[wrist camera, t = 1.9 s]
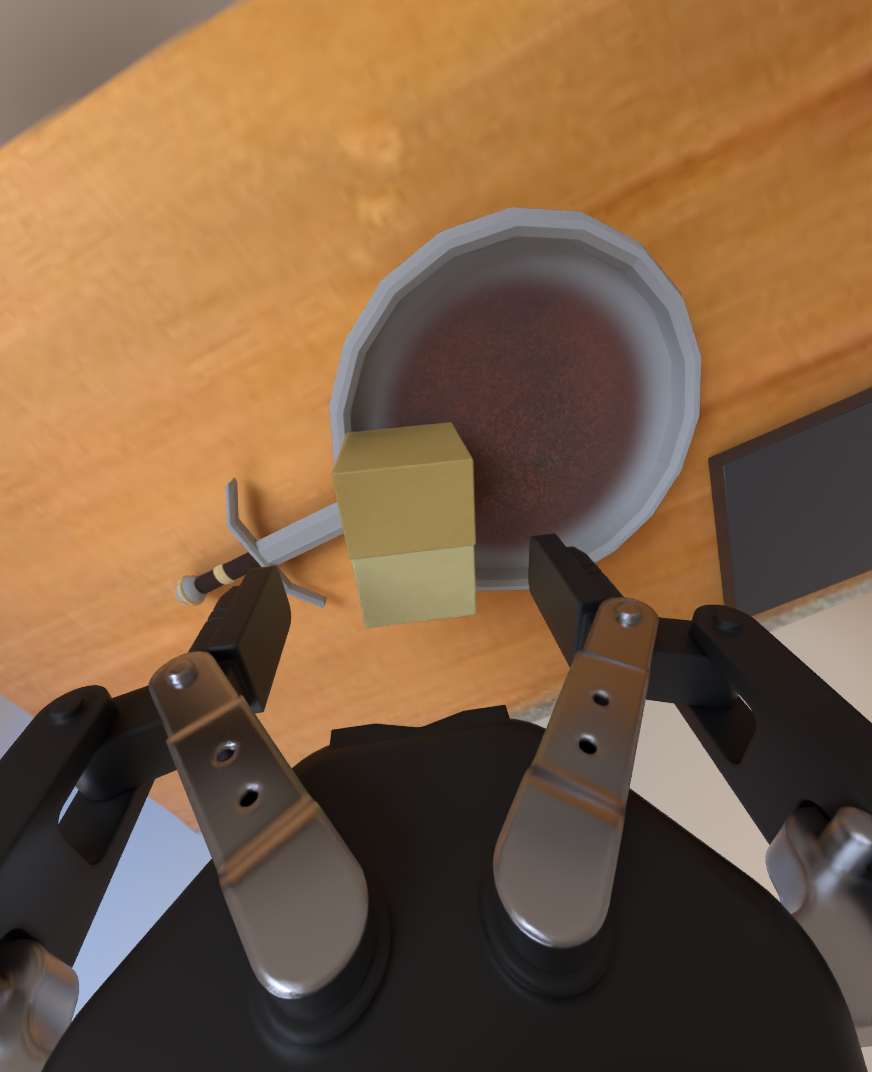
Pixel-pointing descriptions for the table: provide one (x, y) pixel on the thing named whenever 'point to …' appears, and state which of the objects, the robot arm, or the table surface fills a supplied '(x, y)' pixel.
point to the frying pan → (516, 388)
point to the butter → (409, 522)
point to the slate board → (795, 507)
